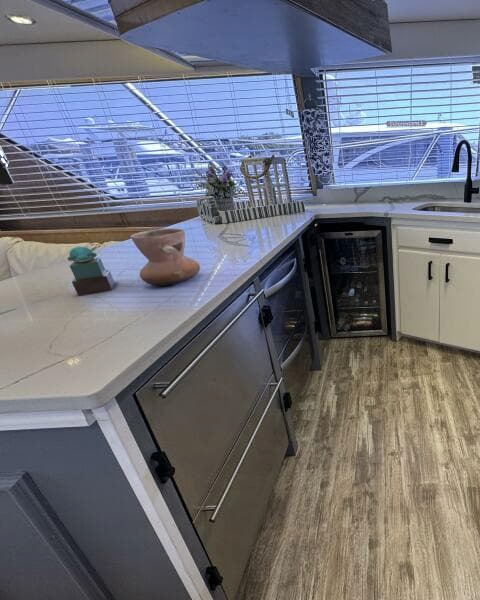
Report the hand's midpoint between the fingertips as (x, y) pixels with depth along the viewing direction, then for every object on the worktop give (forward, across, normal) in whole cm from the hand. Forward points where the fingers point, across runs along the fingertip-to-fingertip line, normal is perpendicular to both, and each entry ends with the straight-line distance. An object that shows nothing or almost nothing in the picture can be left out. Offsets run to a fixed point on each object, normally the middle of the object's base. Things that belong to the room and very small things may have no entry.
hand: (0, 185), depth 71 cm
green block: (+24, -5, +7) cm, 26 cm away
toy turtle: (+20, -5, +7) cm, 22 cm away
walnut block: (+28, -5, +7) cm, 29 cm away
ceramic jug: (+28, +1, +25) cm, 38 cm away
